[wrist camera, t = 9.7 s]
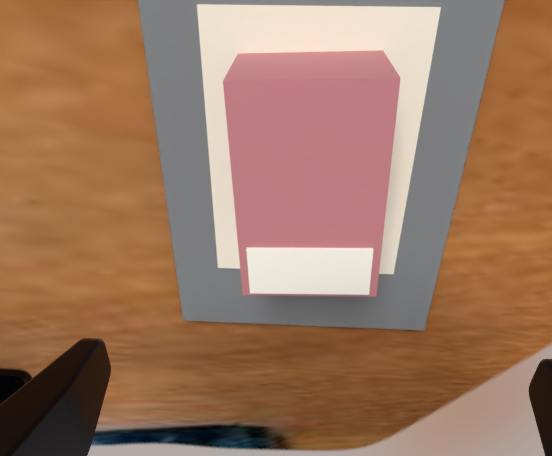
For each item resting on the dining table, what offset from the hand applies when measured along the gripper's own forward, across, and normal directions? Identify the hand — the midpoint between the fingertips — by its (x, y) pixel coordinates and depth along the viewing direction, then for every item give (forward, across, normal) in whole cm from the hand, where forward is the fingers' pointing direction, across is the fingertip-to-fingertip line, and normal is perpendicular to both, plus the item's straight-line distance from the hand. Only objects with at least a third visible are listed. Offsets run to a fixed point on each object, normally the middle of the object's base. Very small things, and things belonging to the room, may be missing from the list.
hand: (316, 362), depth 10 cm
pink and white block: (+10, 0, 0) cm, 10 cm away
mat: (+11, 0, 0) cm, 11 cm away
